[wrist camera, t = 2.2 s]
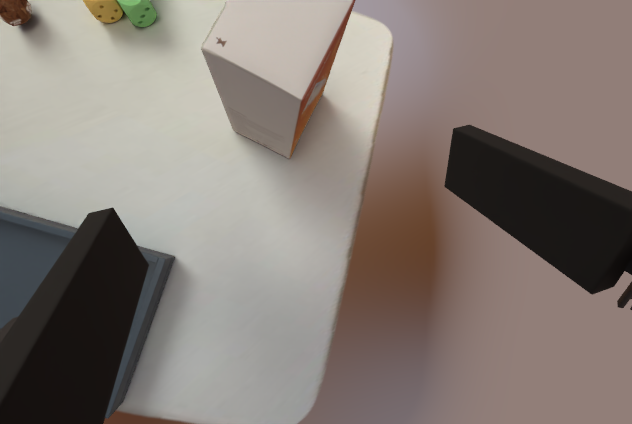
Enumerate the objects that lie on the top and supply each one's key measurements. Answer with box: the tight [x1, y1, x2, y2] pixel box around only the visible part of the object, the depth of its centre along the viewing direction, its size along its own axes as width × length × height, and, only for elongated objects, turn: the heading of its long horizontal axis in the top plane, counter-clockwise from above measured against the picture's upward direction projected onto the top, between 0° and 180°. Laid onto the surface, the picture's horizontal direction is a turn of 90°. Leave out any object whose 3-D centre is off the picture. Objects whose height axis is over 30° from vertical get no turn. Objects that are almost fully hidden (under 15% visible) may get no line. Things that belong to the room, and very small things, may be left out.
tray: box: [0, 206, 175, 418], centre depth 24 cm, size 19×13×2 cm
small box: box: [201, 0, 355, 159], centre depth 23 cm, size 8×6×13 cm
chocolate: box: [0, 0, 31, 26], centre depth 25 cm, size 3×2×4 cm
